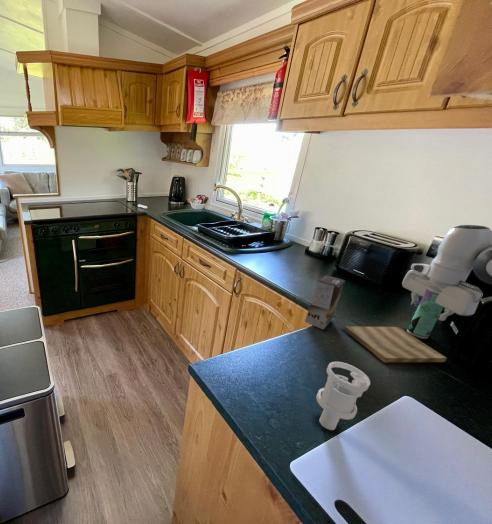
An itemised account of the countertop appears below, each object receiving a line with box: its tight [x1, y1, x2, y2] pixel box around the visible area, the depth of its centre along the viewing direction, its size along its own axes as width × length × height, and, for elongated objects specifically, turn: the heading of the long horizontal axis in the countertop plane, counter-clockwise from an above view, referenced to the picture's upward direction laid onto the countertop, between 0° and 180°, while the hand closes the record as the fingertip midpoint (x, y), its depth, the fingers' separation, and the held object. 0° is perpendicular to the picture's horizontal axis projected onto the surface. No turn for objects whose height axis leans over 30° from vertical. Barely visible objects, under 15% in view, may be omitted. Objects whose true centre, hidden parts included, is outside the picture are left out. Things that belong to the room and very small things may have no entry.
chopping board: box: [343, 325, 448, 363], centre depth 92 cm, size 20×16×2 cm
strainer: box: [315, 361, 371, 431], centre depth 60 cm, size 7×7×15 cm
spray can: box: [406, 286, 444, 340], centre depth 96 cm, size 6×6×20 cm
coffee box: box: [304, 274, 346, 330], centre depth 99 cm, size 9×6×16 cm
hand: (426, 312), depth 96 cm, fingers open, 7 cm apart
